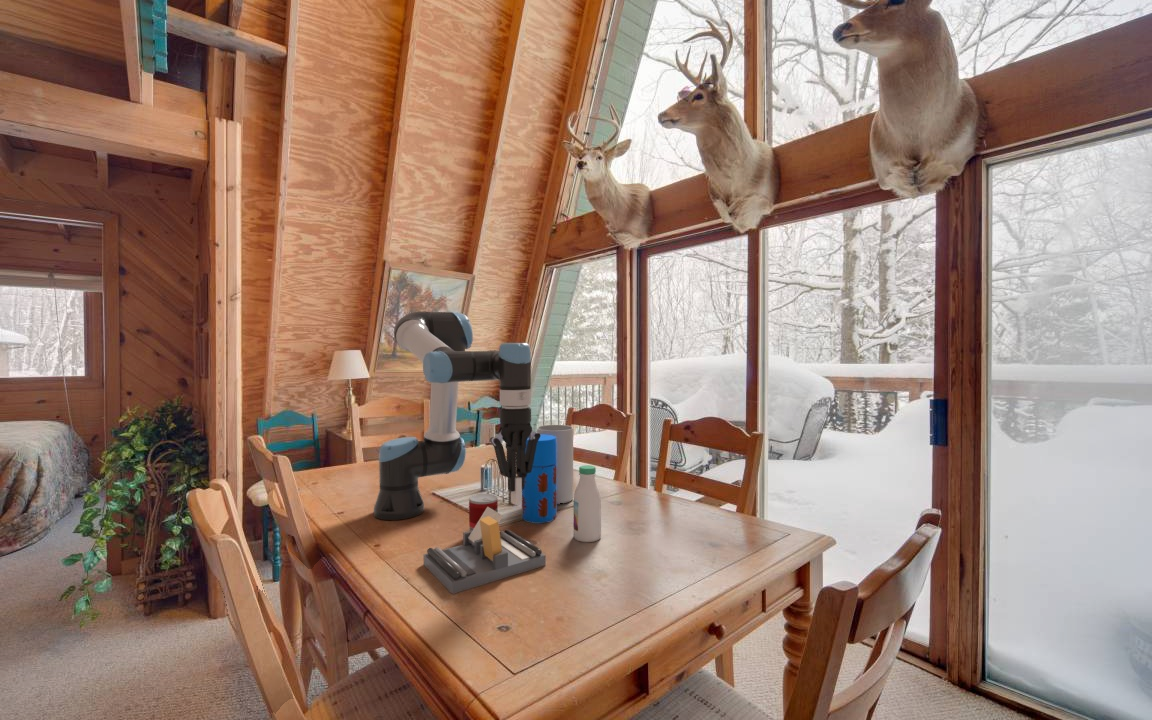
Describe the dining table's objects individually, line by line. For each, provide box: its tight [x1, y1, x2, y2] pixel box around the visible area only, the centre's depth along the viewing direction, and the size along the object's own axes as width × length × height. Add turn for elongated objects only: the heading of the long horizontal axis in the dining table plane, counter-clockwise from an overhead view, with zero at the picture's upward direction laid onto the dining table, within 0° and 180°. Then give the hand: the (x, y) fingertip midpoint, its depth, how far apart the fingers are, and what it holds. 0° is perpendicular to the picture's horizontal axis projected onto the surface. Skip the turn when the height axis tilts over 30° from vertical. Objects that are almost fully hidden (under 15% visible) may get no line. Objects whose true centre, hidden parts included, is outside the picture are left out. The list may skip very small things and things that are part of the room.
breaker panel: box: [423, 528, 547, 595], centre depth 125 cm, size 18×24×6 cm
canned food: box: [468, 493, 499, 531], centre depth 143 cm, size 8×8×11 cm
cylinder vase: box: [536, 424, 574, 505], centre depth 176 cm, size 12×12×25 cm
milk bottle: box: [573, 464, 602, 543], centre depth 142 cm, size 8×8×20 cm
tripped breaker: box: [480, 516, 502, 561], centre depth 120 cm, size 5×2×10 cm, turn 36°
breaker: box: [468, 507, 504, 547], centre depth 130 cm, size 5×2×10 cm
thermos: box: [521, 435, 558, 524], centre depth 158 cm, size 11×11×25 cm
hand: (516, 503), depth 123 cm, fingers closed
